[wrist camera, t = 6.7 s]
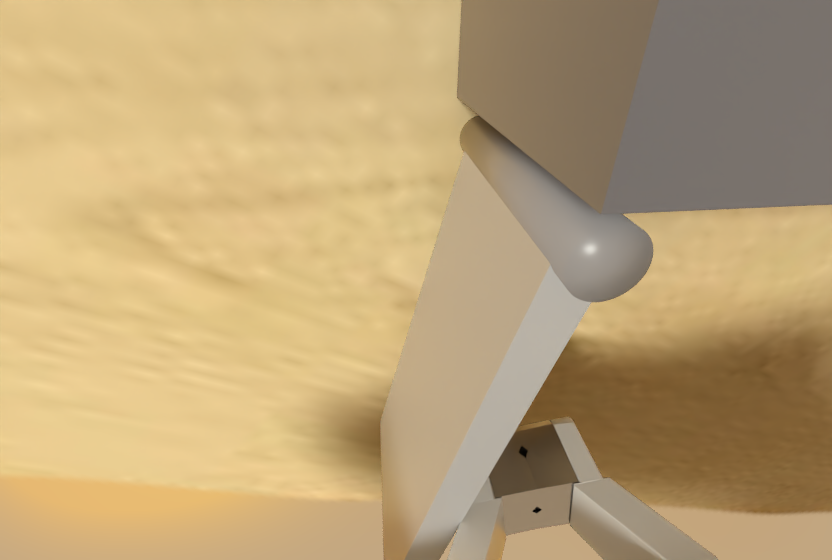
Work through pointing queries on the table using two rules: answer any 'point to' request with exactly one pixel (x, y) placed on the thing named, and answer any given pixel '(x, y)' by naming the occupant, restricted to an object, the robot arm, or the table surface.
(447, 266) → the side door
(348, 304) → the table surface
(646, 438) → the table surface
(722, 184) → the camera body
